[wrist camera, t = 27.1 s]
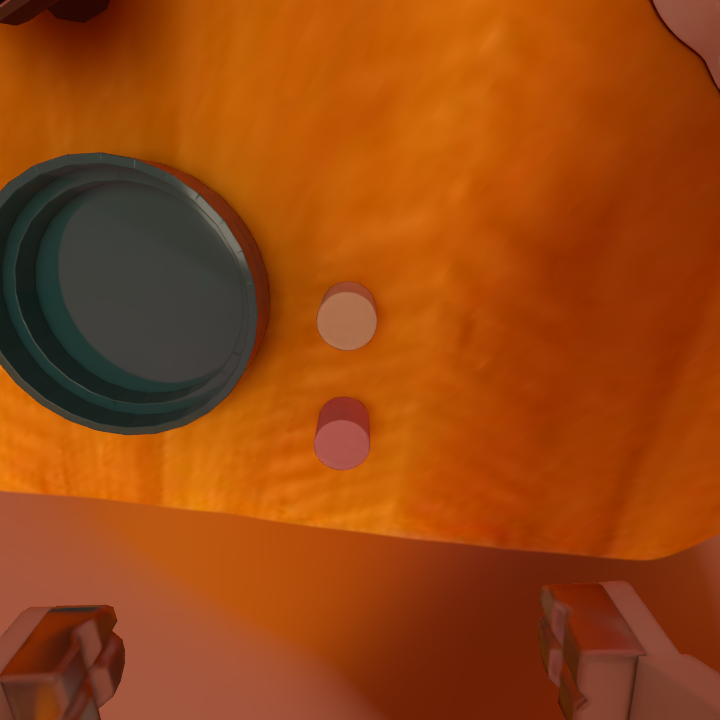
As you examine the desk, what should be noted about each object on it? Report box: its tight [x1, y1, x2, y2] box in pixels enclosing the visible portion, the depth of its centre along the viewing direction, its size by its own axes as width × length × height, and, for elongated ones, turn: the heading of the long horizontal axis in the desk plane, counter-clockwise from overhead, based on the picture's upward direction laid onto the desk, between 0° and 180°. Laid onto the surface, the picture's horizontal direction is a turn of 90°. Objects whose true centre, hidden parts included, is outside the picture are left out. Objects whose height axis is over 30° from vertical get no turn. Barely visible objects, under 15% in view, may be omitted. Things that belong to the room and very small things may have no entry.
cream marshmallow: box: [317, 282, 377, 351], centre depth 35 cm, size 4×4×4 cm
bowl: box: [0, 152, 269, 435], centre depth 34 cm, size 18×18×5 cm
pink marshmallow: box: [314, 397, 370, 470], centre depth 38 cm, size 4×4×4 cm
